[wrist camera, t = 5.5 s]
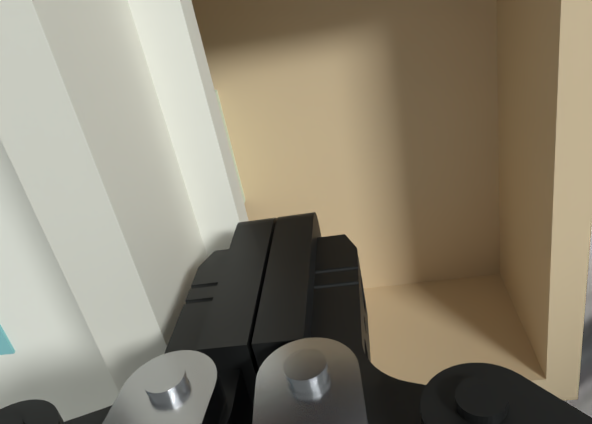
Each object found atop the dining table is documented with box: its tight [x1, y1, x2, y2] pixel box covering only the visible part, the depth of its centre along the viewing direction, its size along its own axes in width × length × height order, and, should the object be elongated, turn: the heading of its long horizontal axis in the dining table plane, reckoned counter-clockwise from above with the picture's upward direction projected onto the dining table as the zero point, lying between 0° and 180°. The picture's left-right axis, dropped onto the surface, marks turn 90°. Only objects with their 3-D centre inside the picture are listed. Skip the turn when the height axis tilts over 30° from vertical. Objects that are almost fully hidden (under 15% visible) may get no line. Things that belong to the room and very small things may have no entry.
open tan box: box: [191, 0, 592, 400], centre depth 15 cm, size 18×13×5 cm
